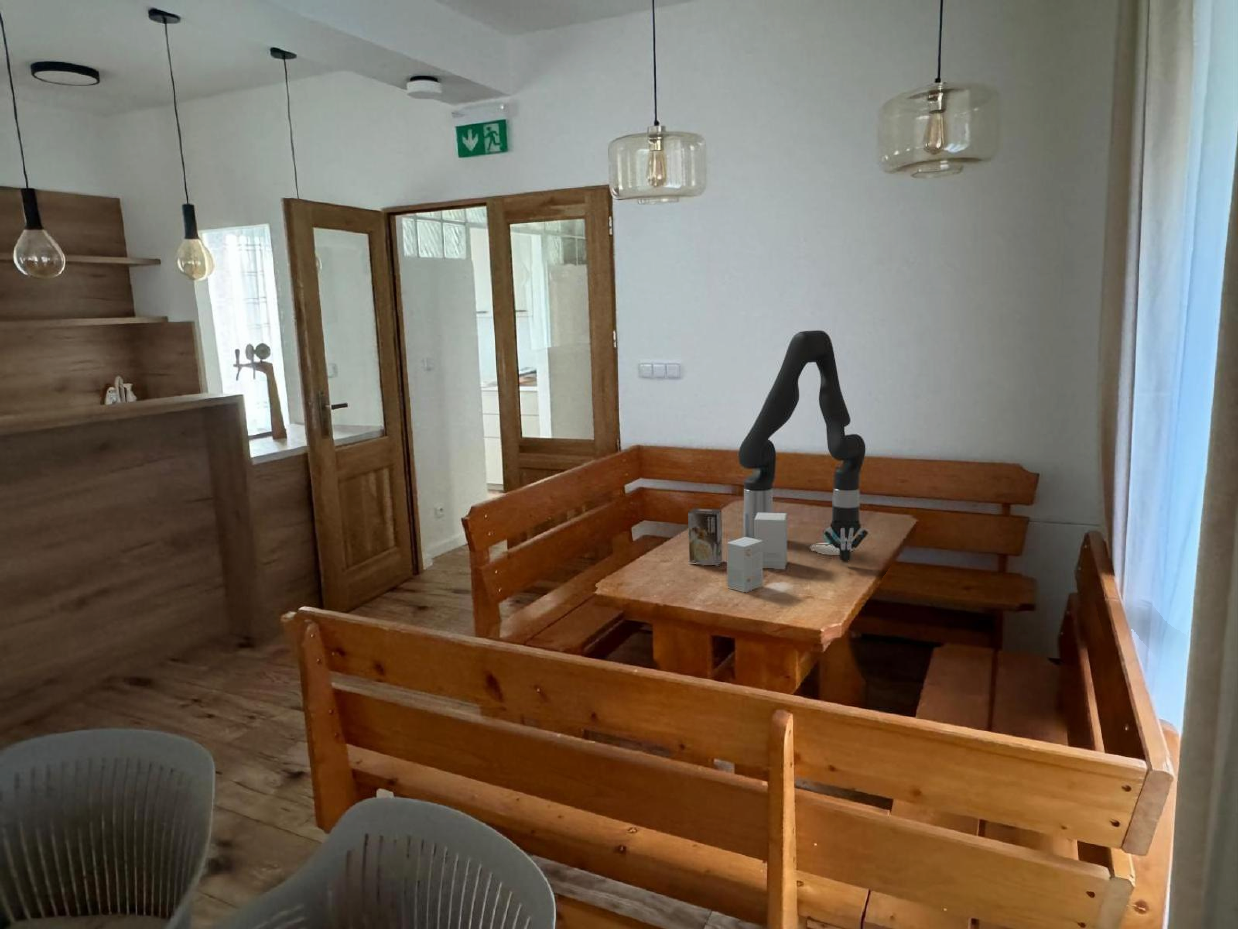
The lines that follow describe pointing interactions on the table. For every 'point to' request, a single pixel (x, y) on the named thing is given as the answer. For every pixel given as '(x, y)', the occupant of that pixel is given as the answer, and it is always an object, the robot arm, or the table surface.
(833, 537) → the ball
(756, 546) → the small box
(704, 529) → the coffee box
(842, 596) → the table surface
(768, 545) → the supplement box
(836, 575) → the table surface
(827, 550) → the disc
